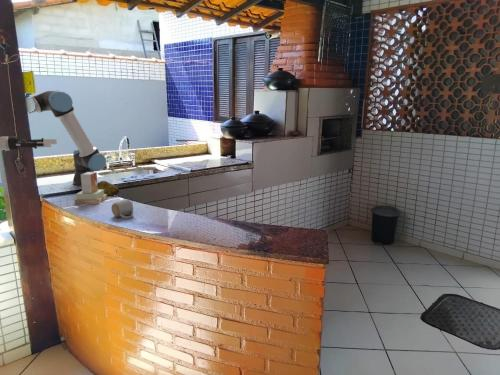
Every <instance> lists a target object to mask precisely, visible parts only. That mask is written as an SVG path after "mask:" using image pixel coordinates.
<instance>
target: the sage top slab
mask: <svg viewBox="0 0 500 375" xmlns="http://www.w3.org/2000/svg"><path fill="white" fill-rule="evenodd" d="M103 195H104V190H100V189H98V190H97V191H95V192H93V193H82V190H81V191H79V192H77V193H75V199H98V198H100V197H101V196H103Z"/></svg>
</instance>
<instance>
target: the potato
mask: <svg viewBox="0 0 500 375" xmlns="http://www.w3.org/2000/svg"><path fill="white" fill-rule="evenodd" d="M97 183H98V189H100V190H104V194H107V196H114V195H115V196H116V195H118V194H119V192H120V190H119V188H118V187H117V186H116V185H114V184H112V183H110V182H108V181H106V180H101V181H99V182H97Z"/></svg>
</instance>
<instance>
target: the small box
mask: <svg viewBox="0 0 500 375" xmlns="http://www.w3.org/2000/svg"><path fill="white" fill-rule="evenodd" d="M97 173H98V171H94V172H86V173H84V174H81V184H82V185H81V191H82V193H93V192H95V191H97V190H98V183H99V182H98V174H97Z"/></svg>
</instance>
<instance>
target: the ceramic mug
mask: <svg viewBox="0 0 500 375" xmlns="http://www.w3.org/2000/svg"><path fill="white" fill-rule="evenodd" d="M133 205H134V204H133V203H132V201H131V200H130V199H127V198H126V199H124V200H120V201H117V202H114V203H113V204H112V205H111V213H112V215H113V216H114V217H115V218H120V217H121V218H123V219H124V220H125V219H126V220H127V219H128V220H129V219H132V218H133V215H134V206H133Z"/></svg>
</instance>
